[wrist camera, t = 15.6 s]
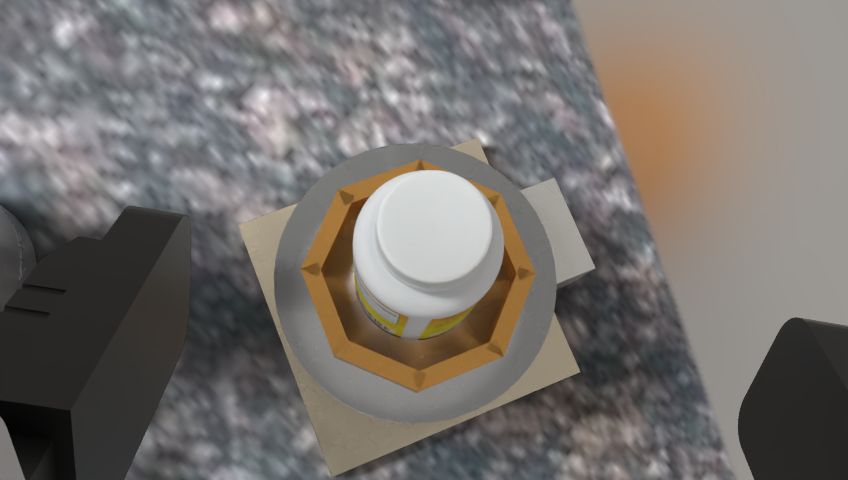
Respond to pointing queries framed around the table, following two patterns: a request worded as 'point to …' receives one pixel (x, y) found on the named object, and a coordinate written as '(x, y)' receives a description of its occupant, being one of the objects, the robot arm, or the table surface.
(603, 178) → the table surface
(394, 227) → the supplement bottle
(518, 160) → the table surface
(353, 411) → the octagonal rim cylinder base
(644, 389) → the table surface
